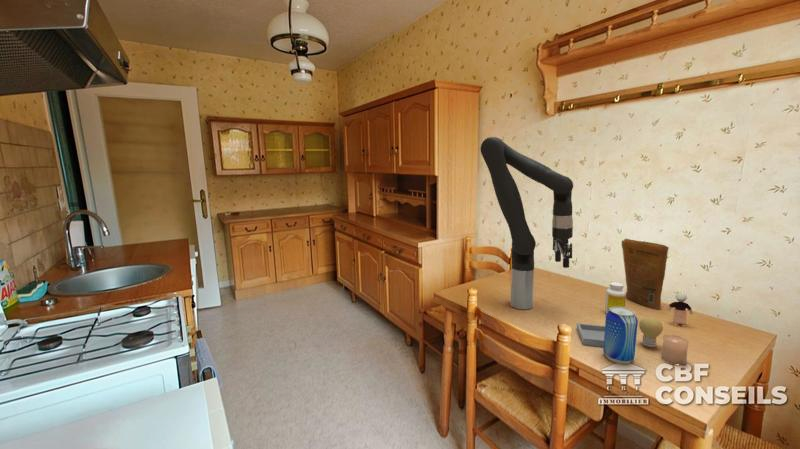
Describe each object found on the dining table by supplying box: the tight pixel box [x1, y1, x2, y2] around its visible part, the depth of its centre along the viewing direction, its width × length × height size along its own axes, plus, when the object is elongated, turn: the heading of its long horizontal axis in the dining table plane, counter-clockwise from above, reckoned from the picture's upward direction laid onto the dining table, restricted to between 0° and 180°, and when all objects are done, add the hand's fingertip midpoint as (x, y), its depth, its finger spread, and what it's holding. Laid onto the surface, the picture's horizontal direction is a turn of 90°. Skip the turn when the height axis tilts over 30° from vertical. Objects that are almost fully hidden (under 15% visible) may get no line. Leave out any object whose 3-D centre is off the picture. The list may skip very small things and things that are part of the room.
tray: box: [576, 322, 605, 348], centre depth 122 cm, size 12×12×2 cm
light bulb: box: [638, 316, 664, 348], centre depth 116 cm, size 6×6×10 cm
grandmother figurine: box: [666, 292, 694, 328], centre depth 130 cm, size 8×4×13 cm, turn 71°
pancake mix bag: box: [621, 238, 670, 310], centre depth 149 cm, size 7×19×28 cm, turn 16°
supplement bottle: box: [604, 281, 627, 314], centre depth 140 cm, size 7×7×13 cm
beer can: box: [602, 307, 639, 365], centre depth 109 cm, size 8×8×16 cm
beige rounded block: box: [661, 334, 689, 366], centre depth 107 cm, size 6×6×7 cm
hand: (561, 264), depth 142 cm, fingers open, 8 cm apart
